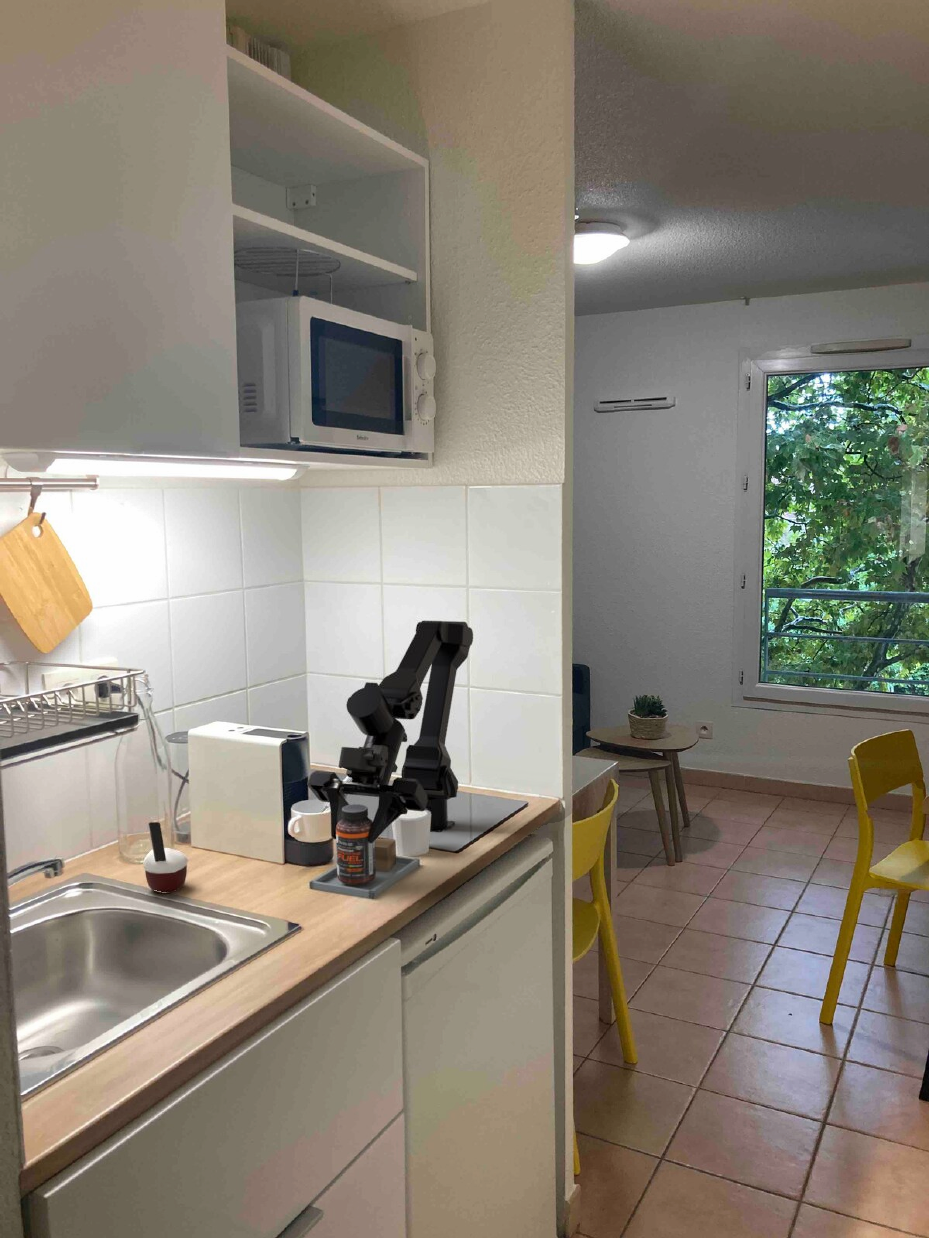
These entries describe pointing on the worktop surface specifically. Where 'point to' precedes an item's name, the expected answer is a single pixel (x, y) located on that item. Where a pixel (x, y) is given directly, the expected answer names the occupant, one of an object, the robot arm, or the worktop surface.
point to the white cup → (412, 833)
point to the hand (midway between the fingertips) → (351, 839)
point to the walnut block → (385, 854)
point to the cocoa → (164, 864)
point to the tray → (371, 888)
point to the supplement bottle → (355, 846)
